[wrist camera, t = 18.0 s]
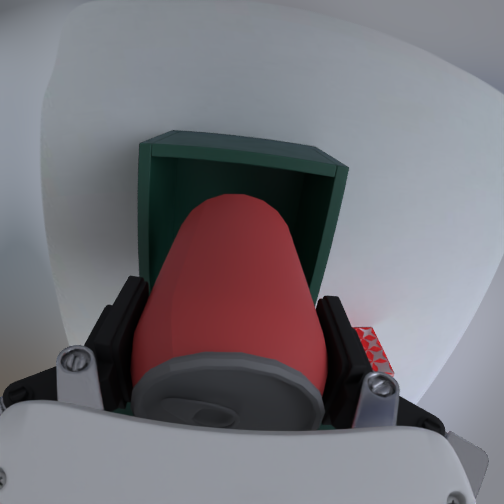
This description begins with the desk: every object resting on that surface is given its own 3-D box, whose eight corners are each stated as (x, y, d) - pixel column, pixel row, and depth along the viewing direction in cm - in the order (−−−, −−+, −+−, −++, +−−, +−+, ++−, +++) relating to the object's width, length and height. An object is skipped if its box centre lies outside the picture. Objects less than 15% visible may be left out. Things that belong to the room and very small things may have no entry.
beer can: (208, 170, 17) (146, 298, 6) (311, 222, 18) (390, 386, 7) (163, 265, 19) (98, 433, 8) (256, 306, 21) (267, 479, 10)
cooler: (172, 130, 25) (139, 142, 17) (316, 146, 26) (349, 167, 18) (166, 259, 31) (141, 316, 22) (291, 272, 32) (307, 332, 23)
